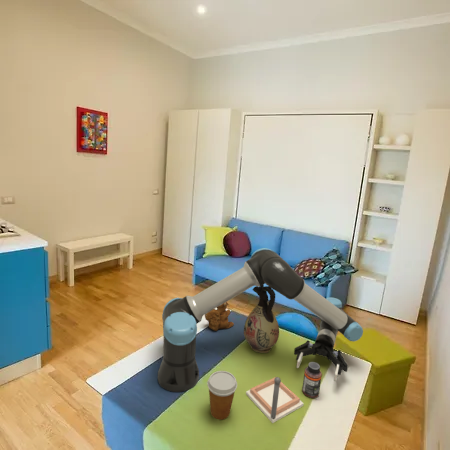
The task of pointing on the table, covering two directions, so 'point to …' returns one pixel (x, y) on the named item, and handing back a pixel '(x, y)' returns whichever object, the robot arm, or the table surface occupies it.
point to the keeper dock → (269, 400)
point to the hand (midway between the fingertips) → (316, 371)
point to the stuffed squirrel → (219, 318)
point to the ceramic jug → (262, 322)
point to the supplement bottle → (312, 380)
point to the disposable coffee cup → (221, 393)
